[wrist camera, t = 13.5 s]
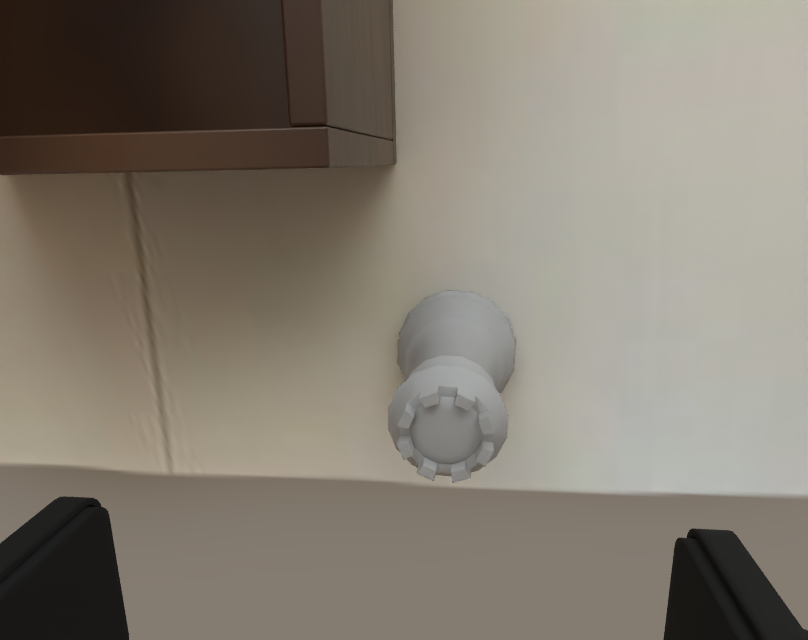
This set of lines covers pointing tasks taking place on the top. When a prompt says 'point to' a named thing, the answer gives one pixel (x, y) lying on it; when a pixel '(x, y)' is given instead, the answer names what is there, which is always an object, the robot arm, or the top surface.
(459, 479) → the rook chess piece
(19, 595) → the robot arm
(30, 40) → the toy chest
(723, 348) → the top surface
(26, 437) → the top surface
